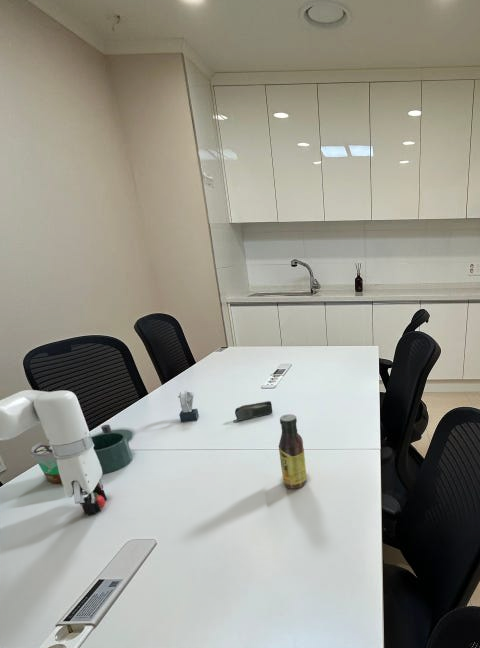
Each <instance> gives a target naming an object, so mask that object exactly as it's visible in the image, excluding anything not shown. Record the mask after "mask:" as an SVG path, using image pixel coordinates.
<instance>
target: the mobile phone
mask: <svg viewBox="0 0 480 648" xmlns="http://www.w3.org/2000/svg"><path fill="white" fill-rule="evenodd" d="M272 413H273V405H272V401H271V400H267V401H261V402H256V403H250V404H244V405H241V406H238V407H236V408H235V410H234V415H235V418H236V419H233V421H232V422H233V423H236V422H239V421H243V420H249V419H254V418H258V417H263V416H268V415H270V414H272Z"/></svg>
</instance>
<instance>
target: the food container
mask: <svg viewBox="0 0 480 648" xmlns="http://www.w3.org/2000/svg"><path fill="white" fill-rule="evenodd" d="M30 455H31V460H33V461H35V462H37V464H38V465H39V467H40V469H41V471H42V473H43V474H44V476H45V478H46V480H47V481H48V483H49V484H52V485H63V484H62V481H61V477H60V474H59V470H58V466H57V458H56V457H55V456H54V454H53V451H52V449H51V446H50V445H46V444H43V442H42V441H40V442H38V443H37V444H35V445H34V446H32V448H31V450H30Z"/></svg>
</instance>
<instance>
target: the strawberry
mask: <svg viewBox="0 0 480 648" xmlns="http://www.w3.org/2000/svg"><path fill="white" fill-rule="evenodd" d="M86 497H89V494H87V495H86ZM94 497H95V501H97V500H98V503H99V506H100V508H101V509H102V508H103V507H105V504H106V501H105V499H104V498H103V497H102V496H101V495H98V494H97V493H94ZM89 498H90V497H89Z"/></svg>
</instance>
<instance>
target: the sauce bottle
mask: <svg viewBox="0 0 480 648" xmlns="http://www.w3.org/2000/svg"><path fill="white" fill-rule="evenodd" d="M297 422H298V421H297V416H296V415H295V414H292V413H289V414H284V415H282V416H280V418H279V424H280V427H281V428H280V429H281V435H280V440H279V443H278V452H279V460H280V468H281V473H282V481H283V484H284V486H285V487H286V488H287V489H299V488H302V487H303V486H305V485H306V483H307V467H306V457H305V448H304V441H303V438H302V436H301V435H300V434H299V433H298V428H297V427H298V426H297Z"/></svg>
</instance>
